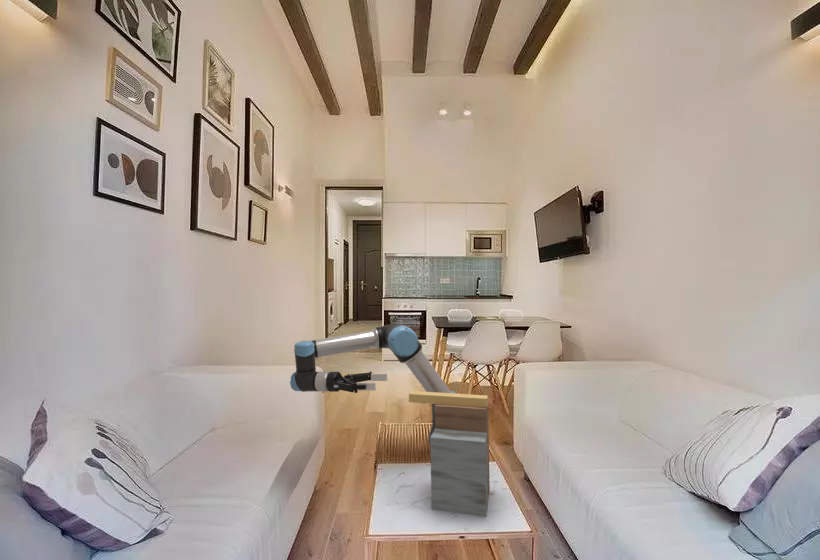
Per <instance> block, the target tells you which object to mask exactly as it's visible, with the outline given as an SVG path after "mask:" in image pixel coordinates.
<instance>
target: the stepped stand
mask: <svg viewBox="0 0 820 560" xmlns="http://www.w3.org/2000/svg"><path fill="white" fill-rule="evenodd" d="M489 421H490V420H489V405H488V406H487V407H472V406H457V405H443V404H436V405H435V430H434V432H433V433H432V435H431V437H430V442H429V443H430V485H431V486H430V490H431V499H430V500H431V510H435V511H443V512H451V513H458V514H465V515H466V514H467V515H474V516H480V517H487V515H488V506H489V500H490V499H489V498H490V488H491V487H490V435H489V433H490V432H489V431H490V430H489Z"/></svg>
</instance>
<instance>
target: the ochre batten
mask: <svg viewBox="0 0 820 560" xmlns="http://www.w3.org/2000/svg"><path fill="white" fill-rule="evenodd" d="M408 402H409V403H415V404H417V403H418V404H430V405H432V404H443V405H457V406H472V407H487V406H488V407H489V395H486V394H485V395H483V394H470V393H456V394H455V393H438V392H426V391H419V390H418V391H417V390H411V391H410V392H409V393H408Z"/></svg>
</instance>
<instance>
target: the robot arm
mask: <svg viewBox="0 0 820 560" xmlns="http://www.w3.org/2000/svg"><path fill="white" fill-rule="evenodd" d="M373 348H375V349H377V350H380V349H389V350H390V351H391V352H392V354H393V355H394V356H395V357H396V359H397V361H399V363H400V364H405V365H406V366H407V368H408V369H409V371H410V372H411V373H412V375H413V376H414V377H415V378H416V380H417V381H418V383H419V384H420V385H421V386H422V388H423V389H424V390H425V391H424V392H438V393H455V394H457V392H456V391H454V390H451V389H450V388H449V386H448V385H447V384H446V383H445V381H444V380H443V378H442V377H441V375H439V373H438V372H437V370H436V369H435V368H434V366H433V364H432V363H431V362H430V361H429V360H428V358H427V356H426V355H425V354H424V353H423V350H422V349H423V345H422V344H421V342H420V340H419V338H418V336H417V333H416V332H415V330H413V329H412V328H410V327H408V326H405V325H402V324H401V323H390V324H386V325H381V326H377V327H373V328H372V329H371V330H367V331H361V332H355V333H349V334H342V335H338V336H332V337H325V338H324V337H323V338H319V339H315V340H314V339H313V340H301V341H298V342H295V343H294V350H293V351H294V352H293V353H294V359H295V372H293V373H292V374H291V376H290V380H289V384H290V388H291V389H292V390H293V391H295V392H303V393H305V392H306V393H307V392H308V393H309V392H321V393H323V394H324V393H326V392H331V393H332V392H333V393H334V392H335V393H338V392H339V391H343V392H349V393H355V394H358V393H359V392H358V391H368V392H370V391H372V392H373V391H377V387H376V382H388V374H387V373H373V372H372V371H369V372H364V373H351V374H350V373H348V374H346V375H344V376H342V374H341V372H339V371H316V369H317V367H316V359H317V358H322V357H327V356H332V355H338V354H346V353H350V352H356V351H361V350H367V349H373ZM368 381H370V382H368ZM435 405H436V404H431V415H432V416H431V420H432V423H431V427H430V429H429V430H430V431H429V433H428V442H429V443H430V437H431V435H432V433H433V432H434V430H435Z"/></svg>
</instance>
